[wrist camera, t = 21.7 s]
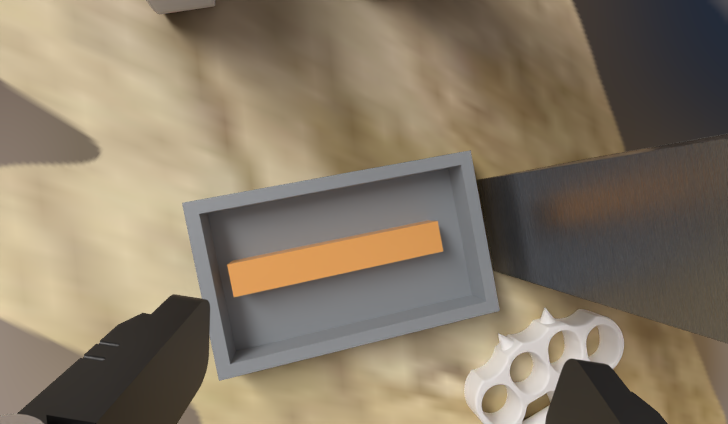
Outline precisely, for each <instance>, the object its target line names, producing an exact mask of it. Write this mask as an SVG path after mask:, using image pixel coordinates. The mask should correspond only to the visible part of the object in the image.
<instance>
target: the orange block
mask: <svg viewBox="0 0 728 424" xmlns="http://www.w3.org/2000/svg"><path fill="white" fill-rule="evenodd" d="M438 252H443V247H442V241H441V236H440V231H439V225H438V221H430V220H427V221H422V222H418V223H413V224H408V225H403V226H398V227H393V228H388V229H384V230H379V231H374V232H369V233H364V234H359V235H354V236H350V237H345V238H340V239H335V240H330V241H325V242H320V243H316V244H311V245H306V246H301V247H296V248H291V249H286V250H282V251H277V252H272V253H267V254H262V255H257V256H253V257H248V258H243V259H238V260H233V261H231V262H230V263H229V264H227V266H228V271H229V276H230V281H231V286H232V291H233V296H234V297H238V296H242V295H247V294H251V293H256V292H261V291H265V290H270V289H274V288H279V287H283V286H288V285H292V284H297V283H302V282H306V281H311V280H315V279H320V278H324V277H329V276H333V275H338V274H343V273H347V272H352V271H356V270H361V269H365V268H370V267H374V266H379V265H384V264H388V263H393V262H397V261H402V260H406V259H411V258H415V257H420V256H425V255H429V254H434V253H438Z"/></svg>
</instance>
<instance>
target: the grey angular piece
mask: <svg viewBox="0 0 728 424" xmlns="http://www.w3.org/2000/svg"><path fill="white" fill-rule="evenodd" d="M146 1H147V2H148V4H149V5H150V6H151V8H152V9H153V10H154V11H155V12H156V13H157V14H166V13H173V12H180V11H186V10H193V9H200V8H206V7H213V6H215V0H146Z"/></svg>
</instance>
